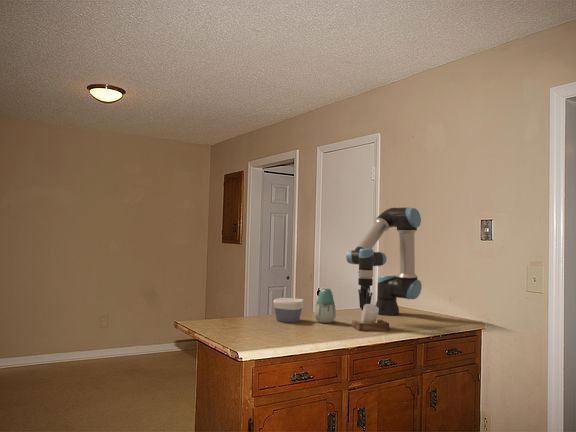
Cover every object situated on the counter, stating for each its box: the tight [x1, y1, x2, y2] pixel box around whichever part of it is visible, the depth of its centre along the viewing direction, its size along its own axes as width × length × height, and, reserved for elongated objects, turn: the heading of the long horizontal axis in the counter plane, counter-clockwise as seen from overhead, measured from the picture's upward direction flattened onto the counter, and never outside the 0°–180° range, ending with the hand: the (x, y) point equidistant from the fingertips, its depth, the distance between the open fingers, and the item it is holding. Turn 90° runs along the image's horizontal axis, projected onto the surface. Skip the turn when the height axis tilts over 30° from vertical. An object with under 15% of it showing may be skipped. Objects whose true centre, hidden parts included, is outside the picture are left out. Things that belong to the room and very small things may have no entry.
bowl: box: [272, 297, 305, 323], centre depth 264 cm, size 15×15×11 cm
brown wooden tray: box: [351, 319, 390, 332], centre depth 249 cm, size 10×16×4 cm, turn 105°
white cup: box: [360, 303, 379, 323], centre depth 250 cm, size 8×8×10 cm
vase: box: [314, 288, 337, 324], centre depth 263 cm, size 12×12×18 cm
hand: (364, 322), depth 256 cm, fingers closed
